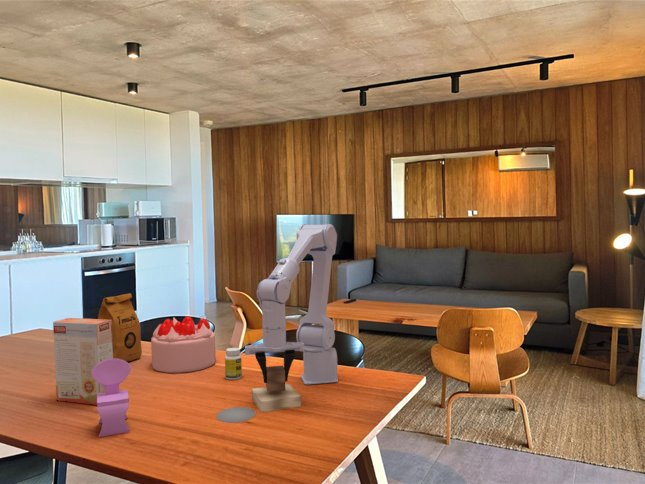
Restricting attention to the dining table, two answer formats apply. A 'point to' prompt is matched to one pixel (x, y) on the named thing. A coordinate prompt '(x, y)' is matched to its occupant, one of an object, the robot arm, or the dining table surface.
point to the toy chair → (112, 396)
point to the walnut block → (275, 378)
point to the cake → (183, 346)
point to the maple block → (276, 399)
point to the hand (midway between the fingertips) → (275, 381)
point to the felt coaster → (235, 414)
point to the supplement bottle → (233, 364)
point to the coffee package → (122, 327)
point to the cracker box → (80, 357)
